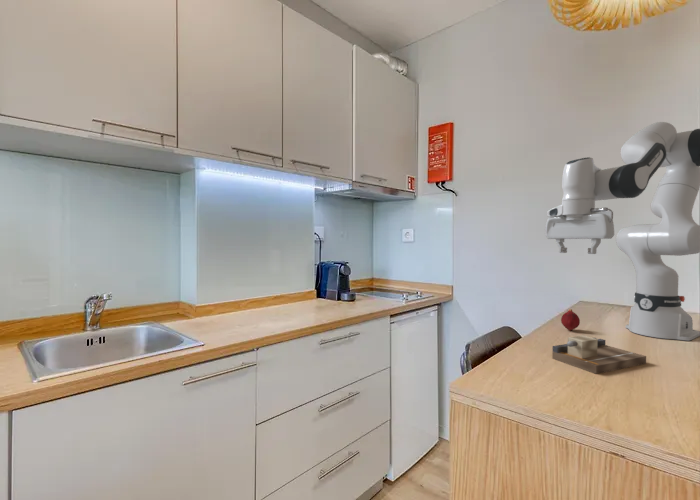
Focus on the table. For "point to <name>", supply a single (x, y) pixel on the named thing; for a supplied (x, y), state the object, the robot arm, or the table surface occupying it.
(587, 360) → the board
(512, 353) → the table surface
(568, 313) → the onion
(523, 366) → the table surface
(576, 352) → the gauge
